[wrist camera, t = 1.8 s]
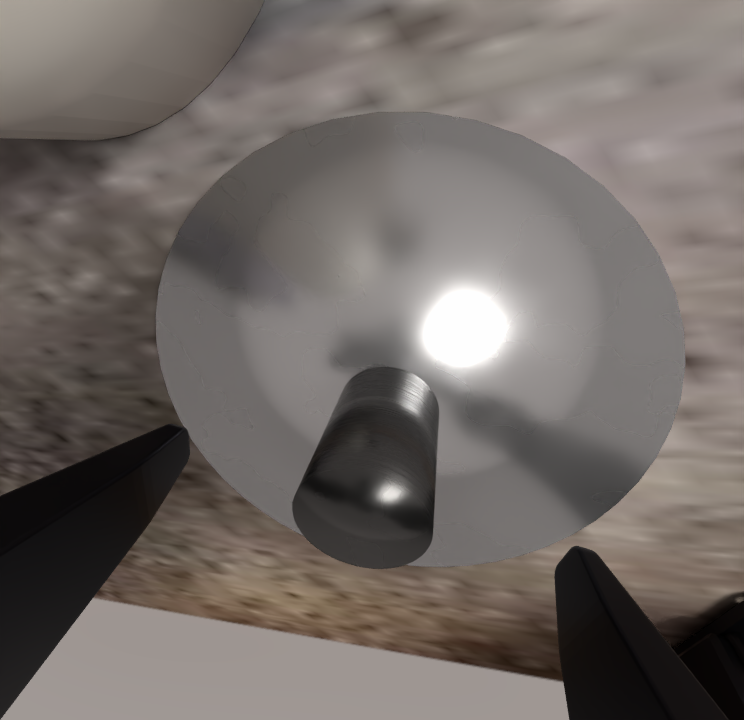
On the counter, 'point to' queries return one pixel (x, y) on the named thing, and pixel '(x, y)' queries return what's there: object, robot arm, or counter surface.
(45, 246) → the counter surface
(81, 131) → the cooker pot
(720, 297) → the counter surface
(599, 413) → the cooker lid
